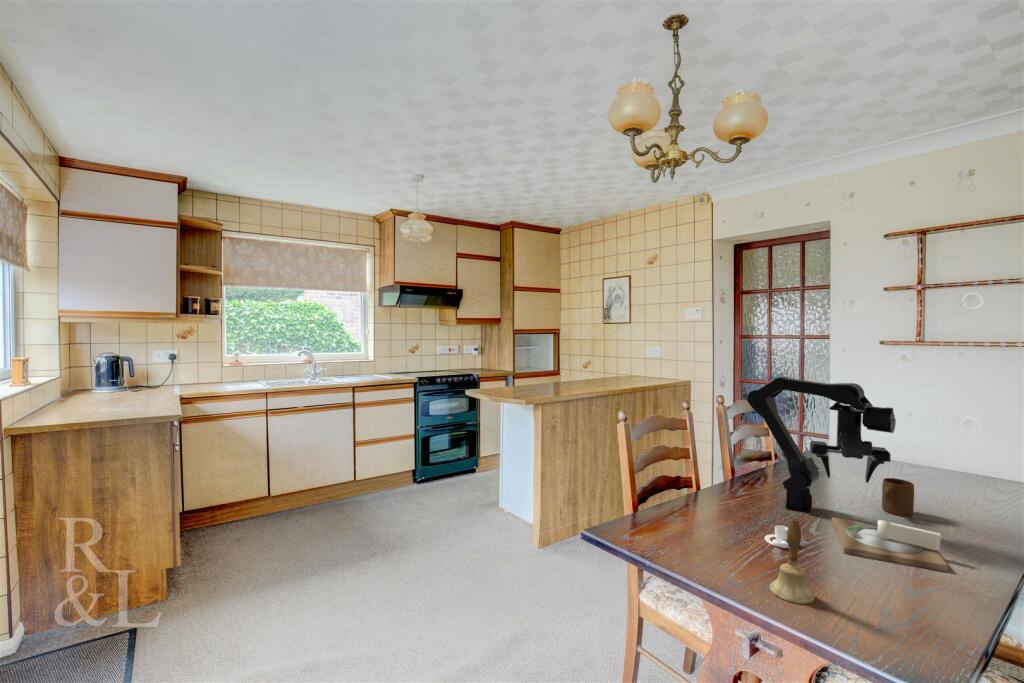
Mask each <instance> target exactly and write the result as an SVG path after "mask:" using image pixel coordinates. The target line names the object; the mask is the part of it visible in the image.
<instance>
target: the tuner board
mask: <svg viewBox="0 0 1024 683" xmlns="http://www.w3.org/2000/svg"><path fill="white" fill-rule="evenodd" d="M831 525H832V527H833V530H834V532H835V534H836V537H837V539H838V542H839V544H840V547H841V549H842V552H843V554H846V555H853V556H856V557H857V556H858V557H864V558H868V559H869V558H870V559H873V560H878V561H879V560H880V561H885V562H891V563H897V564H901V565H906V566H913V567H919V568H924V569H929V570H934V571H941V572H946V573H948V571H949V566H948V564H947V563H946V562H945V560H944V559H943V557H942V556H941V555H940V554H939V553H938V552H937V550H934V549H930V548H926V547H921V546H917V545H913V544H909V543H905V542H901V541H897V540H893V539H889V540H884V539H880V538H878V537H877V526H874V525H870V524H865V523H861V522H857V521H853V520H851V519H847V518H846V519H845V518H838V517H833V516H832V517H831Z"/></svg>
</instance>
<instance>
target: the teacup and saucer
mask: <svg viewBox="0 0 1024 683" xmlns="http://www.w3.org/2000/svg"><path fill="white" fill-rule="evenodd" d="M787 530H788V527H787V526H785V525H782V524H781V525H779V524H778V525H775V526H774V534H766V535H765V536H764V540H765V541H766V543H768V544H770V545H772V546H775V547H778V548H785V549H789V544H788V539H787ZM774 537H775V539H772V541H771V540H770V539H771V538H774Z"/></svg>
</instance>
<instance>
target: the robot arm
mask: <svg viewBox="0 0 1024 683" xmlns="http://www.w3.org/2000/svg"><path fill="white" fill-rule="evenodd" d="M784 391H787V392H794V393H795V392H796V393H800V394H807V395H812V396H813V395H814V396H817V397H818V396H819V397H823V398H826V399H829V400H831V401H833V402H835V403H834V404H833V405H831V406H830V407H829V410H830V411H837V416H836V417H837V418H836V419H837V420H836V422H837V424H836V445H828V444H827V443H826V441H817V440H811V441H810V443H809V452H810V453H811V454H813V455H815V456H816V457H817V458H820V460H821V461H822V463H823V467H824V469H825V473H826V476H827V478H828V479H830V478H831V470H830V463H829V462H830V461H829V458H830V456H829V455H828V453H835V454H841V455H842V457H843V458H848V459H849V458H851V459H857V460H862V459H864V456H866V457H867V460H866V469H865V477H864V478H865V484H866V483H867V484H868V483H869V481H870V480H871V478H872V476H873V473H874V472H875V470H876V469H877V467H878V466H879V465H884V464H885V462H888V463H889V462H891V453H890V452H889V451H888V450H887V449H886V447H880V446H879V447H878V446H873V443H872V441H869V440H867V441H866V440H862V426H864V427H865V428H866V429H867V431H875V432H883V433H889V434H893V433H894V432H895V430H896V423H897V422H896V421H897V419H896V417H895V413H894V408H893V407H881V406H873V404H872V403H871V402H870V401H869V399H868V398H867V396H865V391H864V389H863V388H862V386H861V385H860V384H858V383H852V382H851V383H850V382H847V383H846V382H845V383H844V382H841V383H840V382H839V383H825V382H818V381H811V380H806V379H805V380H804V379H797V378H792V377H786V376H778V377H775V378H774V379H773V380H772V381H770V382H768V383H767V384H765V385H764V386H761V388H759V389H755V390H751V391H750V392H749V393H747V398H746V401H747V403H748V405H749V406H750V407H751V408H752V410H753V411H754V412H755V413H756V414H757V415H759V416H760V417H761V418H762V420H763V421H764V422H765V424H766V426H767V427H768V429H769V432H770V433H771V434H772V436H773V438H774V440H775V441H776V443H777V445H778V447H779V449H780V450H781V452H782V454H783V456H784V457H785V459H786V463H787V464H786V465H787V468H788V473H789V476H790V477H788V478H787V479H785V480H783V481H782V484H783V488H784V490H785V500H784V506H785V509H786V510H793V511H800V512H805V513H810V512H811V509H812V507H813V495H812V493H811V490H810V488H811V486H812V485H813V484H815V483H816V482H817V481H818V480H819V478H820V473H819V470H820V468H819V467H818V466H817V465H816V463H815V460H814V459H813V457H811V456H810V457H808V458H807V457H806V456H805V455H803V453H802V452H801V450H800V449H799V447H798V445H797V443H796V442H795V440H794V439H793V437H792V435H791V433H790V432H789V430H788V429H787V427H786V424H785V423H784V422H783V419H782V418H781V416H780V415H779V413H778V409H777V408H778V407H777V402H776V400H775V398H776V397H777V396H779V395H780V394H782V392H784Z"/></svg>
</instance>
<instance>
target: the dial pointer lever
mask: <svg viewBox="0 0 1024 683" xmlns="http://www.w3.org/2000/svg"><path fill="white" fill-rule="evenodd" d="M850 520H853V521H857V522H861V523H865V524H870V525H874V526H877V537H878V538H880V539H884V540H889V539H893V540H897V541H901V542H905V543H909V544H913V545H917V546H921V547H926V548H930V549H934V550H936V551H938V552H940V551H941V536H942V535H941V532H940V533H939V532H936V531H932V530H931V531H930V530H927V529H921V528H919V527H913V526H909V525H904V524H899V523H894V522H891V521H888V520H885V519H877V522H874V521H869V520H864V519H862V518H861V519H860V518H855V517H850Z"/></svg>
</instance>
